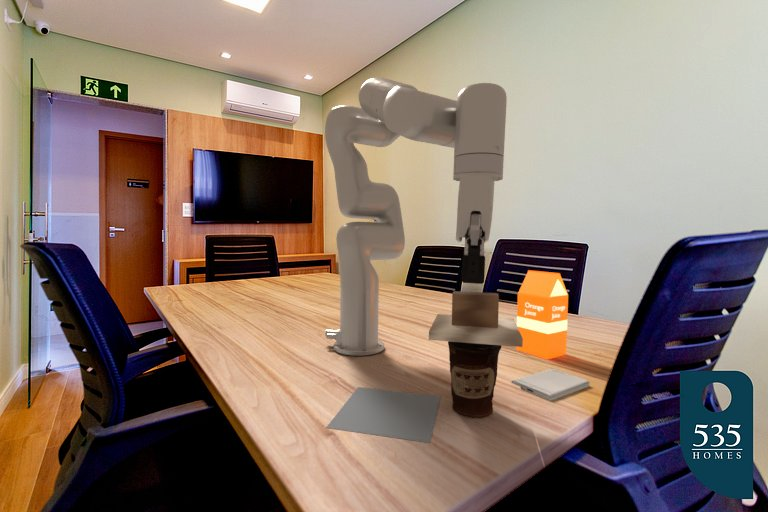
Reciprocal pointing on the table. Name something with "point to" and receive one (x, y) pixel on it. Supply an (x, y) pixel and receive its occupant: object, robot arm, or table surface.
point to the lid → (475, 322)
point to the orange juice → (543, 314)
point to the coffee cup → (473, 378)
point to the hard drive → (551, 384)
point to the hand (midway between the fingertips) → (473, 278)
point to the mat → (388, 414)
